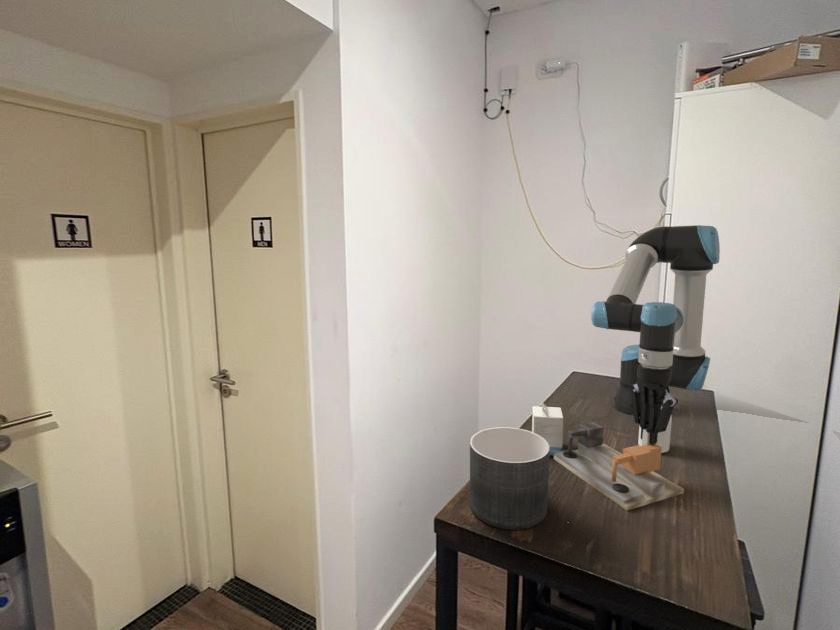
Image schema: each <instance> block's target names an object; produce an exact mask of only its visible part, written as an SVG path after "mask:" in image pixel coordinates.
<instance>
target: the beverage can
mask: <svg viewBox="0 0 840 630" xmlns="http://www.w3.org/2000/svg"><path fill="white" fill-rule="evenodd" d="M661 409H662V406H661ZM672 419H673V416H672V414H671V417H670V420H669V423H668V426H667V429H666V431H664V432H659V433H658V437H657V443H656V445H658V446H660V447H662V450H661V454H663V453H667V452H669V450H670V444H671V434H672V433H671V431H672ZM637 440H638V443H637V445H639V446H642V439H641V427H640V425H639V428H638V439H637Z"/></svg>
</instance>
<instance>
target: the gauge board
mask: <svg viewBox="0 0 840 630" xmlns="http://www.w3.org/2000/svg"><path fill="white" fill-rule="evenodd" d="M566 433H567V434H566V435H567V437H568V446H567V447H568V448H567V449H563V451H559V452H554V456H553V460H555V461H556V462H557V463H559V464H560V465H561V466H563V468H566V469H567V470H568V471H570V472H571V473H573V475H575V476H577V477H578V478H580V479H581V480H583V481H584V482H585V483H587V484H588V485H590V486H591V487H592V488H594V489H596V490H597V491H598V492H599V493H601V494H603V495H604V496H605V497H607V498H608V499H610V500H611V501H612V502H614V503H615V504H616V505H618V506H620V507H621V508H622V509H624V510H625V511H627V512H628V511H631V510H634V509H637V508H640V507H644V506H647V505H649V504H654V503H656V502H660V501H663V500H667V499H670V498H673V497H677V496H680V495H683V494H684V493H685V491H684V490H685V489H684V488H683V487H681V486H680V485H678V484H676V483H674V482H672V481H671V480H670V479H667V478H666V477H664V476H662V475H661V474H659V473H657V472H656V471H652V472H643V473H640V474H636V475H634V474H633V473H631V472H629V471H628V470H626V469H624V468H623V467H622V464H619V465H617V475H616V482H613V481H612V467H613V462H612V461H613V456H616V455H621V454H622V453H621V452H620V451H618V450H616V449H614V448H612V447H611V446H609V445H607V444H606V443H603V441H604V426H602V425H600V424H598V423H596V422H594V421H591V422H585V423H581V424H578V428H577V429H570V430H568V431H567V432H566ZM574 438H578V439H577V444H578V445H577V449H573V441H574V440H573V439H574Z"/></svg>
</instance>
